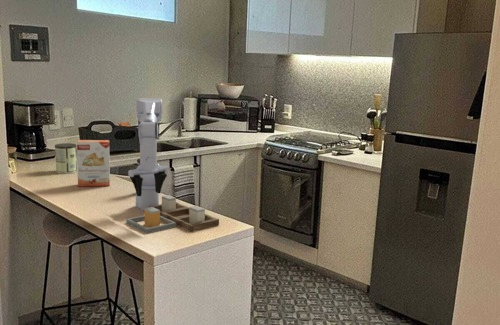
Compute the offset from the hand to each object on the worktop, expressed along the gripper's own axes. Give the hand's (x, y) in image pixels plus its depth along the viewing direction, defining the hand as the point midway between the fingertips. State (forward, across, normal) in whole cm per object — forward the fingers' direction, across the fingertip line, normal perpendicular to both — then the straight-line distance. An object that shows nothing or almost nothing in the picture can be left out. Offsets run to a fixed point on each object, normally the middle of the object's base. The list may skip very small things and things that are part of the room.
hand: (148, 194), depth 170 cm
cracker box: (+10, +8, +62) cm, 63 cm away
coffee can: (+10, +9, +97) cm, 98 cm away
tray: (+10, -2, -5) cm, 12 cm away
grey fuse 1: (+10, +11, +4) cm, 15 cm away
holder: (+10, +11, -5) cm, 16 cm away
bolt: (+10, +20, +38) cm, 44 cm away
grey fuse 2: (+10, +11, -14) cm, 20 cm away
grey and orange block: (+10, -2, -6) cm, 11 cm away
